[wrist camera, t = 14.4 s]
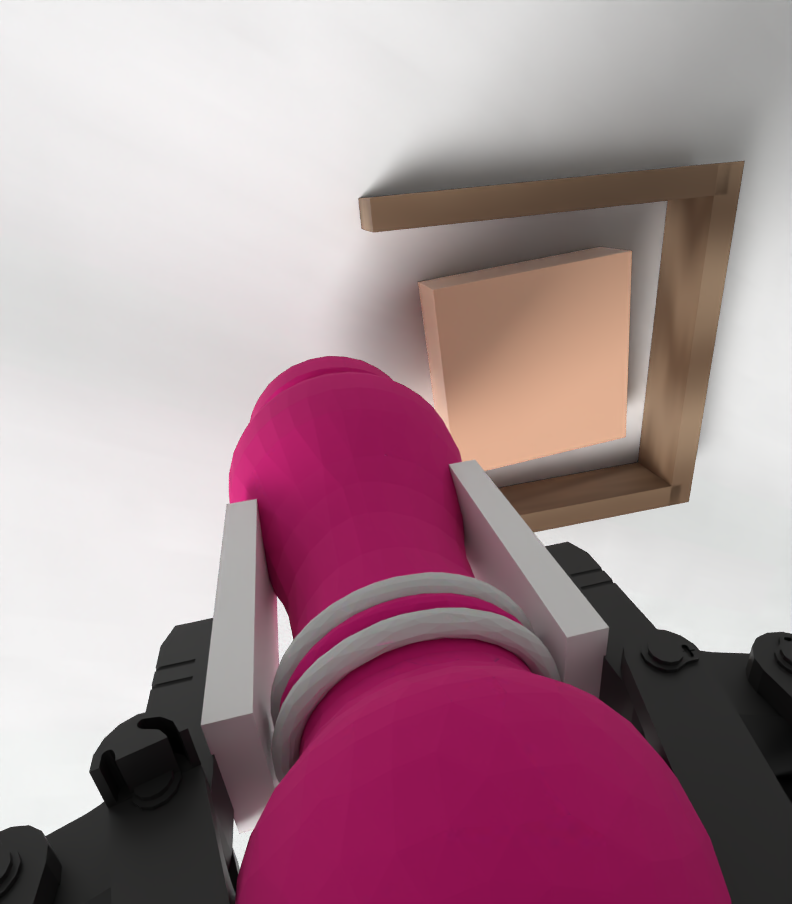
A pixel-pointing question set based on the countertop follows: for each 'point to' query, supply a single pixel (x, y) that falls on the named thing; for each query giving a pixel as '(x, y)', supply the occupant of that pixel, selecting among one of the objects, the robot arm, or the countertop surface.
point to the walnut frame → (674, 331)
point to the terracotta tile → (531, 354)
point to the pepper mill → (428, 689)
